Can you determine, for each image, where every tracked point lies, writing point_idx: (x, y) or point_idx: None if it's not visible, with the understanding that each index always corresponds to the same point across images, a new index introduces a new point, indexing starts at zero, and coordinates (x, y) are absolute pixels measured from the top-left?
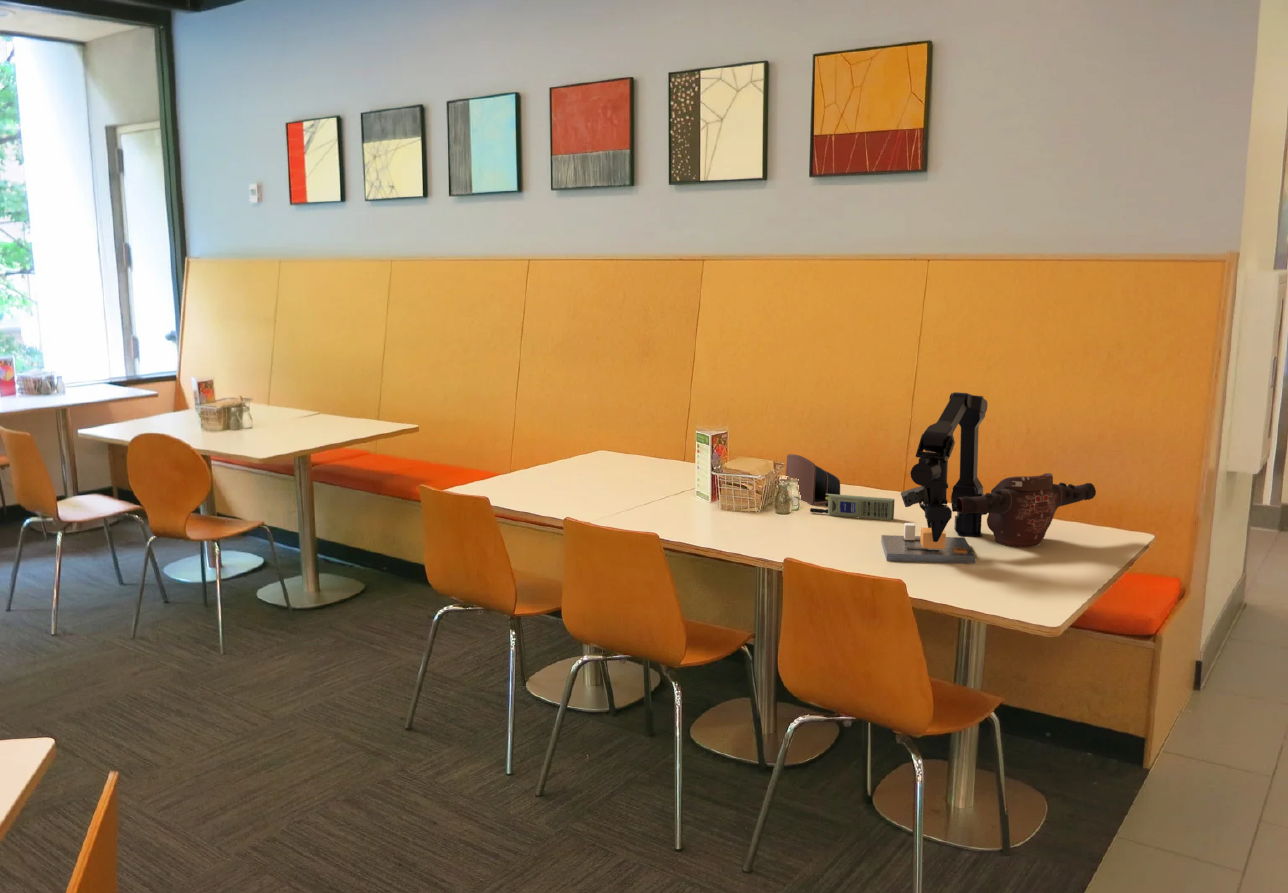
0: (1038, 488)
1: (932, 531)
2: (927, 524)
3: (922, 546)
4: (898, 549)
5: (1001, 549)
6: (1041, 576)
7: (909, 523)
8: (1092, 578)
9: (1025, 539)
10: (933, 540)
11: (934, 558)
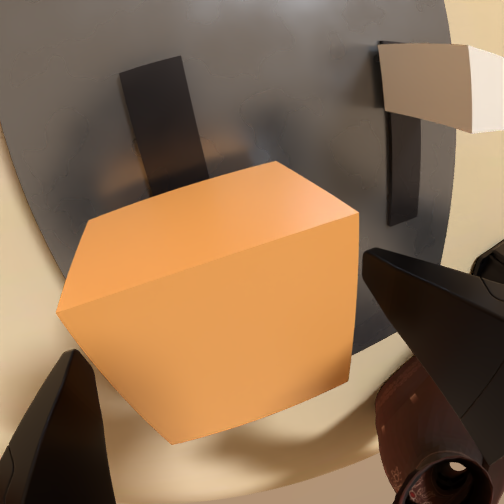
0: None
1: (15, 437)
2: (433, 267)
3: (110, 214)
4: (105, 9)
5: (360, 384)
6: (142, 478)
7: (502, 92)
8: (181, 499)
9: (376, 424)
10: (61, 360)
11: None
